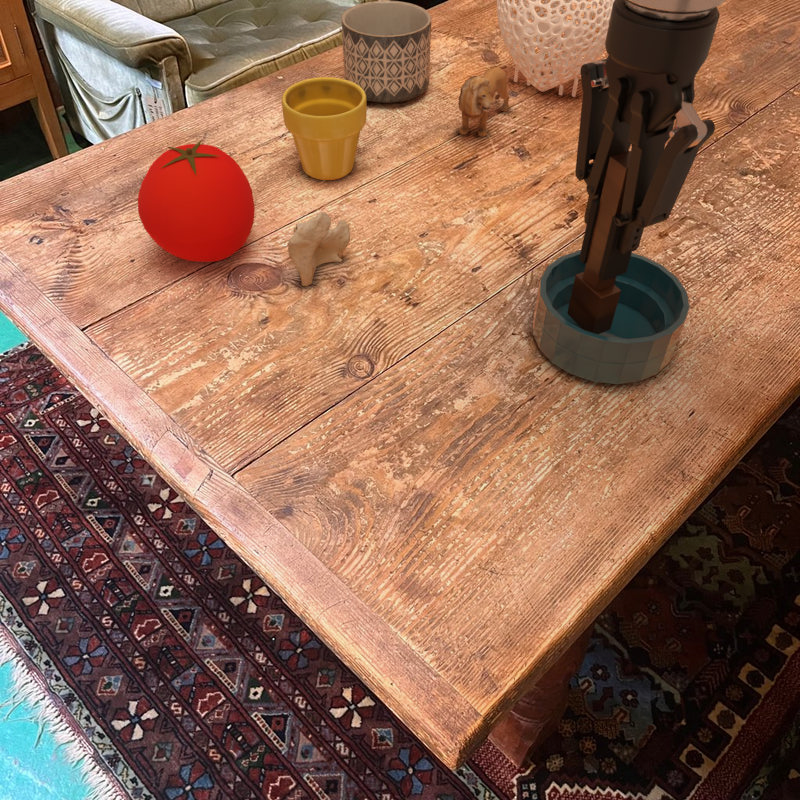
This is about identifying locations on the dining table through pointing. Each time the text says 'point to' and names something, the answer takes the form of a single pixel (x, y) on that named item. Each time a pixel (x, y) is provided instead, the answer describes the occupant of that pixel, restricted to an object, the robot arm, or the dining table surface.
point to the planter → (387, 49)
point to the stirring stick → (600, 257)
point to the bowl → (631, 328)
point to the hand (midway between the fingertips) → (602, 265)
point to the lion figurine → (482, 98)
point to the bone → (317, 244)
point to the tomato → (197, 203)
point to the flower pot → (325, 124)
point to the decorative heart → (553, 38)
